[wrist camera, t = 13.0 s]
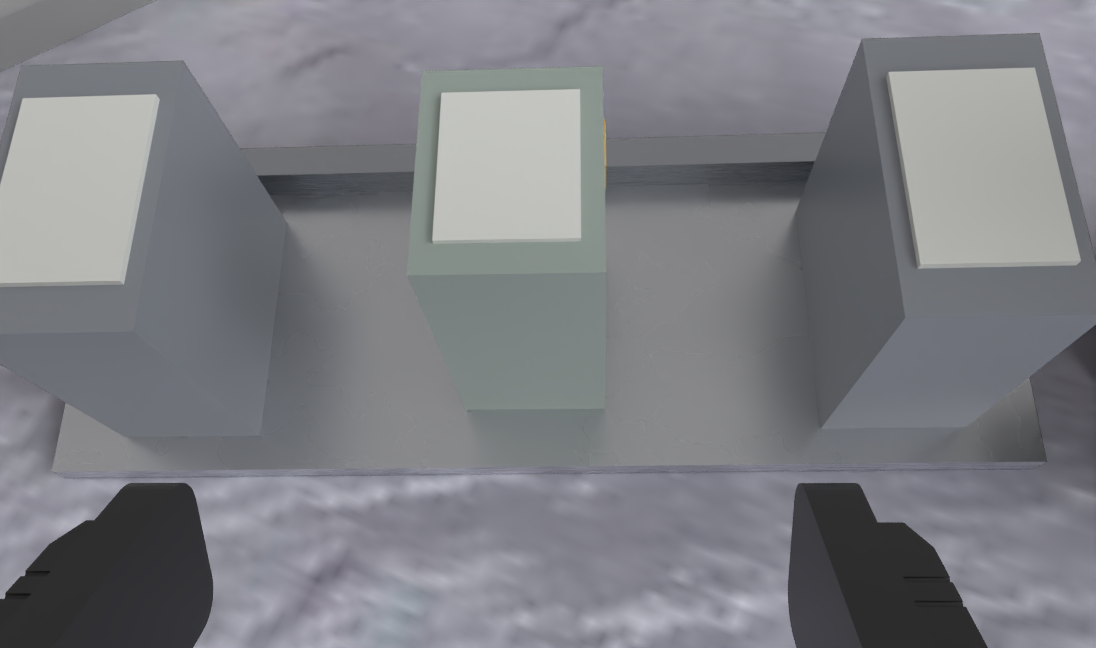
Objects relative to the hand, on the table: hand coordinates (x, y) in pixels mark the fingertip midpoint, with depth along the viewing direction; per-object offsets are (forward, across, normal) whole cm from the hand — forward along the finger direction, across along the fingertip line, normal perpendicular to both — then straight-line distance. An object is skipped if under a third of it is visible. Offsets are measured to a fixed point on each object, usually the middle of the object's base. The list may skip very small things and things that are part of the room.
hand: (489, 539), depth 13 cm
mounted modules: (+16, 0, +3) cm, 17 cm away
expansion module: (+15, 0, +3) cm, 16 cm away
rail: (+16, 0, +3) cm, 17 cm away
